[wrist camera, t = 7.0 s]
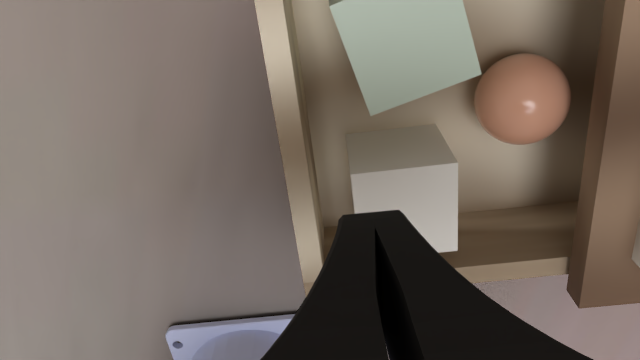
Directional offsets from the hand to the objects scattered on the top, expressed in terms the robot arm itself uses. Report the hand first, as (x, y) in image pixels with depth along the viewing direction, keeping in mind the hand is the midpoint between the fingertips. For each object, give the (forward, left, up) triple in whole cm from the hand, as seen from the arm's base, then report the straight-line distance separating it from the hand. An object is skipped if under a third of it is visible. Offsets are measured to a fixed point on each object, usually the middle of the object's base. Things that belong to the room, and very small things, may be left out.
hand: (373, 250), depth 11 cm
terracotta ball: (0, -6, -10) cm, 11 cm away
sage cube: (+3, -2, -10) cm, 10 cm away
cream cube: (-3, -2, -10) cm, 10 cm away
